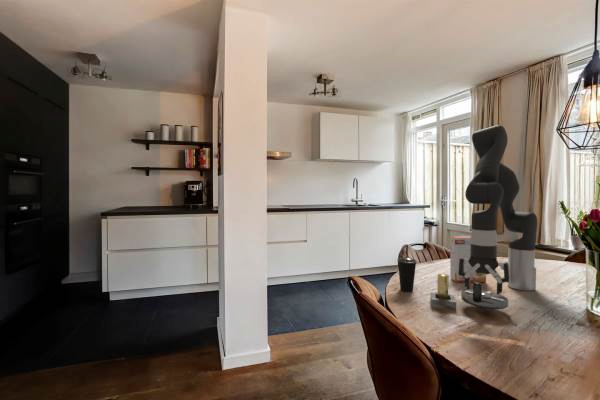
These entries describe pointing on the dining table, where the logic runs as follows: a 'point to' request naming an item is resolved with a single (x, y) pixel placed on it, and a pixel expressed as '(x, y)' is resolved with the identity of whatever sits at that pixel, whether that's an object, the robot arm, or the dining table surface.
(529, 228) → the robot arm
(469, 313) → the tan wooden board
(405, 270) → the dark tapered cylinder
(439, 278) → the gold metallic cylinder
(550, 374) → the dining table surface
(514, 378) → the dining table surface
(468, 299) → the handwheel
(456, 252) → the cracker box
